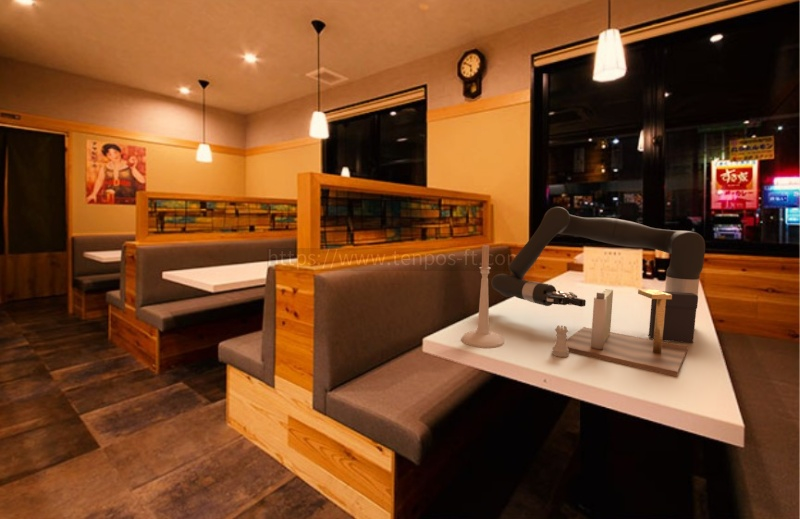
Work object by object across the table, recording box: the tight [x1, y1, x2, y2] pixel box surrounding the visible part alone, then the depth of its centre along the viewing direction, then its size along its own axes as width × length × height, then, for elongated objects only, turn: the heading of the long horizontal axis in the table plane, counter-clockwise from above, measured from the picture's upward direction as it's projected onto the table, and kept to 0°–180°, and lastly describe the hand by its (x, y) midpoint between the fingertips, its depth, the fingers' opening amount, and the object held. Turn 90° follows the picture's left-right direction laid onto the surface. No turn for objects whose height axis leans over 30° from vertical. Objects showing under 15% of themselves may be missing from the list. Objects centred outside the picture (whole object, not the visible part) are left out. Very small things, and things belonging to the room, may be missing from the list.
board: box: [566, 326, 689, 377], centre depth 109 cm, size 24×28×1 cm
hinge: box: [591, 288, 614, 349], centre depth 112 cm, size 18×3×16 cm, turn 143°
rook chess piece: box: [551, 325, 570, 358], centre depth 105 cm, size 4×4×8 cm
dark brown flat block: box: [648, 290, 699, 344], centre depth 117 cm, size 11×4×15 cm, turn 71°
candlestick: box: [461, 244, 505, 349], centre depth 115 cm, size 13×13×30 cm
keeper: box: [637, 288, 672, 354], centre depth 106 cm, size 7×5×18 cm
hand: (584, 303), depth 119 cm, fingers closed
